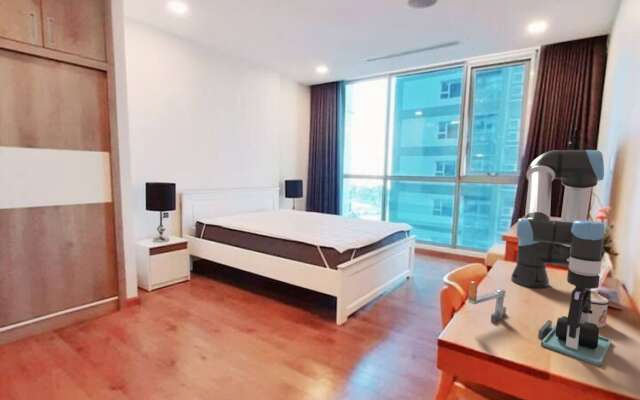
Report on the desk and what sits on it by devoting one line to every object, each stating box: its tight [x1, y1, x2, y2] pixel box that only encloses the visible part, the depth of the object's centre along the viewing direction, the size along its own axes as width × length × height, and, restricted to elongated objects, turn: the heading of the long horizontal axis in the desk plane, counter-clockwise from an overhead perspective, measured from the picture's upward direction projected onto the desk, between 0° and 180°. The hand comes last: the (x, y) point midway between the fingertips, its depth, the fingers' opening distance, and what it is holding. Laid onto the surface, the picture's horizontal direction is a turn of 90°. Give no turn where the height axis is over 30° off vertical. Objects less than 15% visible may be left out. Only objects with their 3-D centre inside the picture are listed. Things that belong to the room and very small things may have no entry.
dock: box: [490, 297, 553, 340], centre depth 114 cm, size 11×16×8 cm
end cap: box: [555, 315, 600, 349], centre depth 101 cm, size 10×7×7 cm
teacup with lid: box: [587, 289, 610, 329], centre depth 118 cm, size 12×9×12 cm
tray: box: [540, 323, 612, 368], centre depth 102 cm, size 19×14×1 cm
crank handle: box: [467, 280, 506, 305], centre depth 114 cm, size 3×18×8 cm, turn 120°
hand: (576, 339), depth 102 cm, fingers open, 13 cm apart
